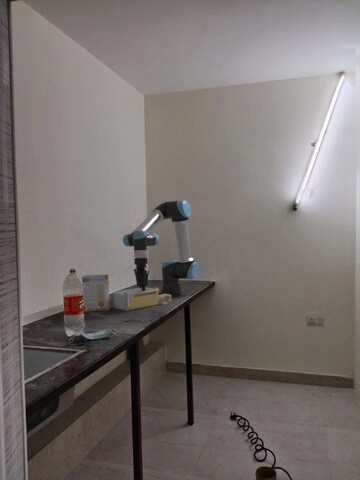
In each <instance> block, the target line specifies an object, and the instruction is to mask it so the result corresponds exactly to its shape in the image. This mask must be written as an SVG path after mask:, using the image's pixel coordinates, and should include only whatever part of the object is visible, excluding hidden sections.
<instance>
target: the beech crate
mask: <svg viewBox="0 0 360 480" xmlns="http://www.w3.org/2000/svg"><path fill="white" fill-rule="evenodd" d="M172 298H173V297H172V295H169V294H161V293H160V294H158V302H159V305H168V304H172Z"/></svg>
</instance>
